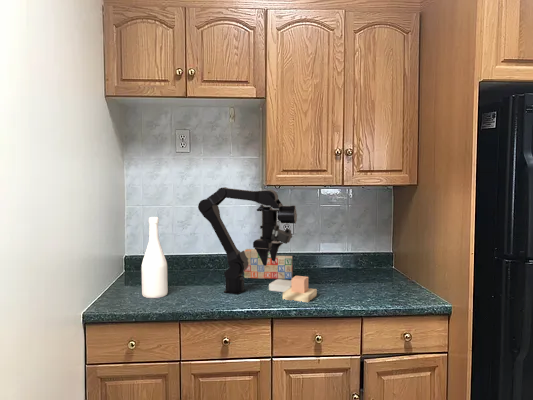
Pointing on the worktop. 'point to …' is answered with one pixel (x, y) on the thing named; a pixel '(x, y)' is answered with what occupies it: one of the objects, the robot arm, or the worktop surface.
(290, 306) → the worktop surface
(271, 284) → the white plastic slab
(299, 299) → the birch slab
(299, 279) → the terracotta cube
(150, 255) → the wine bottle
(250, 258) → the stack of blocks
